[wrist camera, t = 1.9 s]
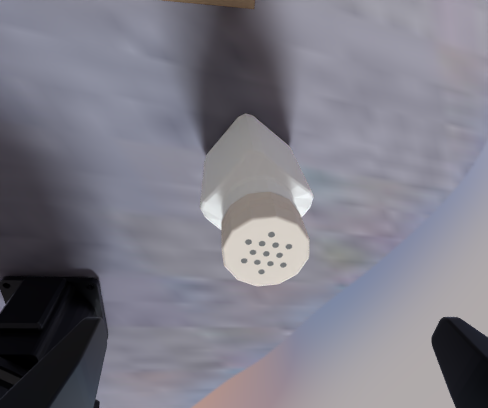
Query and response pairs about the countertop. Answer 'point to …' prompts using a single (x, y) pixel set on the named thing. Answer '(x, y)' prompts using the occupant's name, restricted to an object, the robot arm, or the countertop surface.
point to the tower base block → (222, 3)
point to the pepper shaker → (257, 203)
